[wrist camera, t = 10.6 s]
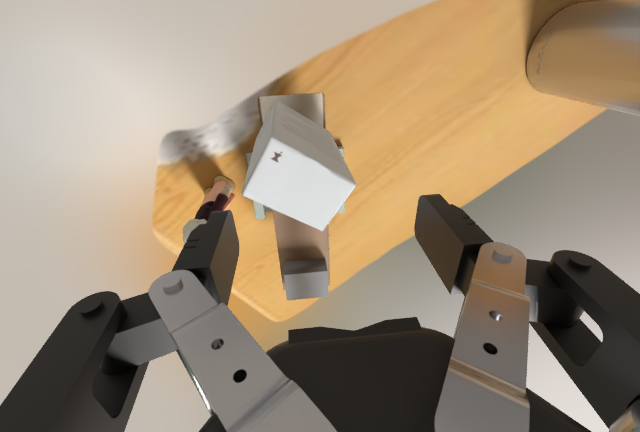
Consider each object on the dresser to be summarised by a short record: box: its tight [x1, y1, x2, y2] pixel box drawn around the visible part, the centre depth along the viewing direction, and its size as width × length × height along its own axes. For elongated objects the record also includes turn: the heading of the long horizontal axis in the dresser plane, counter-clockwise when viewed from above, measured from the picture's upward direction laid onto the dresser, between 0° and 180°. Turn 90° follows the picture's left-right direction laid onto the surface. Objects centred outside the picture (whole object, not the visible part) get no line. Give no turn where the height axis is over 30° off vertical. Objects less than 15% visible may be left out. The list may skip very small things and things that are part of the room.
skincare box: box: [242, 100, 356, 231], centre depth 23 cm, size 6×4×12 cm
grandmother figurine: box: [183, 176, 235, 243], centre depth 34 cm, size 8×4×13 cm, turn 147°
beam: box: [258, 93, 330, 300], centre depth 33 cm, size 7×23×5 cm, turn 2°
